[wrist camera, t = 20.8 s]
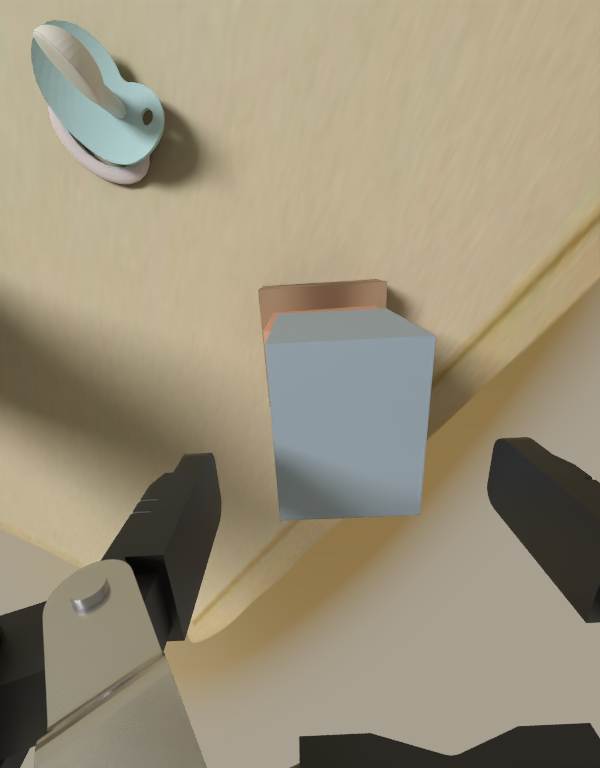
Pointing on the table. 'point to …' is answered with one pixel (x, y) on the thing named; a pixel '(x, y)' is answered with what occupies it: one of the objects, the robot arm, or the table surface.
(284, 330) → the brick slate
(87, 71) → the pacifier
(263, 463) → the table surface
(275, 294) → the base block
